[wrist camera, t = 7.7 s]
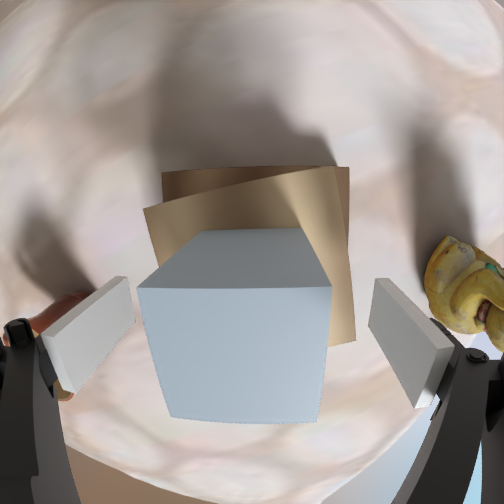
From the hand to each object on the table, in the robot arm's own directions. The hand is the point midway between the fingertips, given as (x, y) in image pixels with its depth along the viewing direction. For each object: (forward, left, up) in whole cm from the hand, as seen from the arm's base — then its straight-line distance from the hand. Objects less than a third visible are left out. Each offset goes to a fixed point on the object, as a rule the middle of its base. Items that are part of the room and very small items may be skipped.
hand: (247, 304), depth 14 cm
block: (0, 0, -4) cm, 4 cm away
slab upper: (0, 0, -8) cm, 8 cm away
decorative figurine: (+20, -3, -11) cm, 23 cm away
